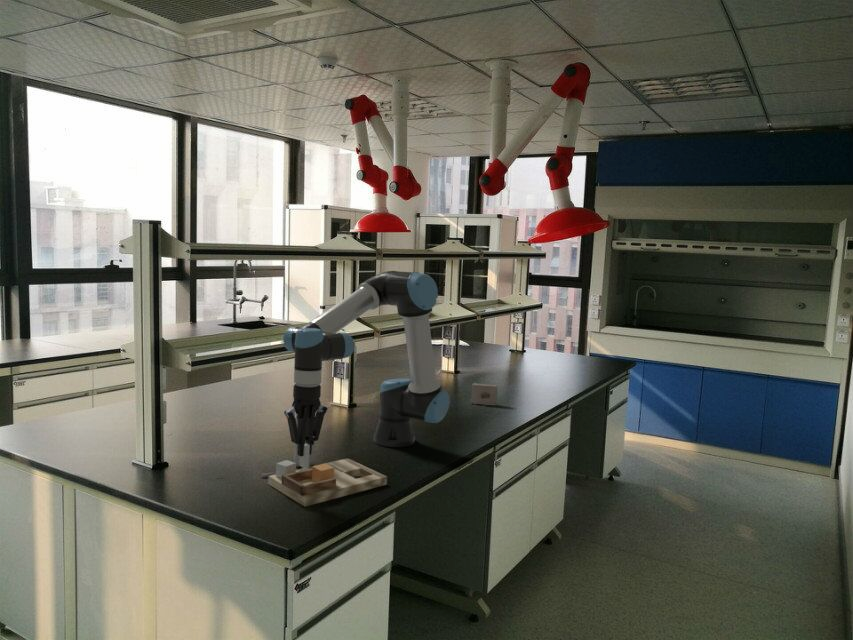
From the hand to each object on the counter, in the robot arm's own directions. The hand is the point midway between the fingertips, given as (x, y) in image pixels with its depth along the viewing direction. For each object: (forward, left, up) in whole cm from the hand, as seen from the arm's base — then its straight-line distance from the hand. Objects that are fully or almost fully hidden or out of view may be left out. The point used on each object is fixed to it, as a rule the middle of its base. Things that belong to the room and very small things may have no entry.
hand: (303, 466), depth 182 cm
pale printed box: (-126, -46, -9) cm, 135 cm away
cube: (-7, 0, -6) cm, 9 cm away
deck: (-11, -3, -9) cm, 14 cm away
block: (0, -10, -6) cm, 12 cm away
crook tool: (-2, -17, -9) cm, 19 cm away
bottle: (-13, -21, -9) cm, 26 cm away
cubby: (-2, 0, -6) cm, 6 cm away
